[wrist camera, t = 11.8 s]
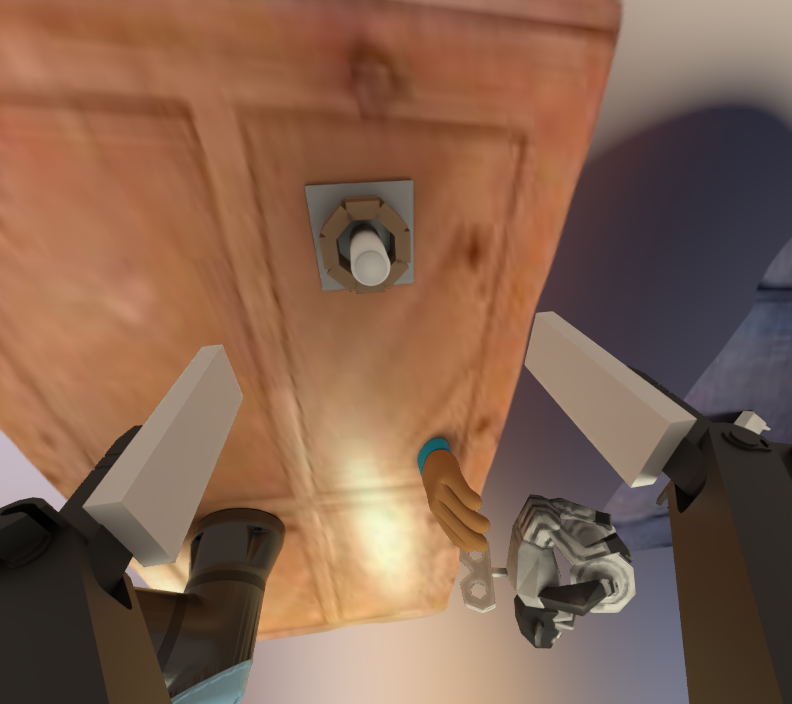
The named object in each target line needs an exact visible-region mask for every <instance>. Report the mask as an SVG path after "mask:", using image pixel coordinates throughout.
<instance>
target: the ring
mask: <svg viewBox="0 0 792 704" xmlns="http://www.w3.org/2000/svg"><path fill="white" fill-rule="evenodd" d="M345 203H346V204H345ZM345 203H344V202H343V201H342V200H340V202H339V203H338V204H337V206H336V207H335V208H334V210H333V211H332V212H331V214H330V215H329V216H328V218H327V219H326V220H325V222H324V223H323V225H322V228H321V233H320V236H319V241H320V247H321V253H322V258H323V264H324V270H326V269H328V272H327V274H328V275H329V276H330V277H332V278H333V279H334V280H335V281H337V282H338V283H339V284H341V285H342V286H343V287H345V288H346V289H347V290H349V291H350V292H352V291H353V290H354V289H356V294H361V293H372V292H384V291H385V286H386V287H387V288H388V289H390V288H391V287H392V286H393V285H394V283H395V282H396V281H397V280H398V279H399V278H400V277H401V276H402V275H403V274H404V272H405V271H406V270H407V269H408V268H409V267H408V265H407V263H411V235H410V230H409V229H408V228H407V227H408V225H407V224H406V223H405V222H404V221H403V219H402V218H401V217H400V216H399V215H398V214H397V213H396V212H395V211H394V210H393V209H392V208H391V207H390V206H389V205H388V204H387V203H386V202H385V201H384V200H383V199H382V198H379V199H378V198H377V197H376V195H372V196H355V197H345ZM367 219H377V220H378V221H379V222H380V223H382V224H383V225H384V226H385V227H386V228H387V229H388V230H389V231H390V246H391V249H390V251H389V252H388V253H387V255H388V258H389V260H390V272H389V275H388V276H387V278H386V279H385V280H384V281H383V282H382V283H380V284H378V285H374V286H368V285H364V284H362V283H360V282H358V281H357V280H356V279H355V277H354V276H353V274H352V270H351V262H350V261H349V260H348V259H347V258H345V257H344V256H343V255H342V254H340V249H339V242H338V237H339V236H340V235H341V233H342V232H343V231H344V229H345V228H346V227H347V226H348V224H349V223H350V222H351V221H352V220H367Z"/></svg>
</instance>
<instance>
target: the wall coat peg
mask: <svg viewBox="0 0 792 704" xmlns="http://www.w3.org/2000/svg"><path fill="white" fill-rule="evenodd" d="M304 187H305V193H306V199H307V204H308V210H309V216H310V221H311V227H312V233H313V239H314V244H315V250H316V256H317V261H318V267H319V273H320V278H321V284H322V290H323V291H329V290H340V289H346V288H345V287H343V286H342V285H341V284H339V283H338V282H337V281H335V280H334V279H333V278H332V277H330V276H329V275H328V274H327V272H328V269H326V270H324V264H323V258H322V253H321V247H320V241H319V236H320V233H321V228H322V225H323V223H324V222H325V220H326V219H327V218H328V216H329V215H330V214H331V212H332V211H333V210H334V208H335V207H336V206H337V204H338V203H339V202H340V200H342V201H343V202H344V203H345V197H355V196H372V195H376V197H377V198H378V199H379V198H382V199H383V200H384V201H385V202H386V203H387V204H388V205H389V206H390V207H391V208H392V209H393V210H394V211H395V212H396V213H397V214H398V215H399V216H400V217H401V218H402V219H403V221H404V222H405V223H406V224H407V225H408V227H407V228H408V229H409V230H410V235H411V263H407V265H408V267H409V268H408V269H407V270H406V271H405V272H404V274H403V275H402V276H401V277H400V278H399V279H398V280H397V281H396V282H395V283H394V285H399V284H411V283H414V201H413V180H397V181H377V182H358V183H339V184H320V185H305V186H304ZM345 204H346V203H345ZM338 242H339V249H340V254H342V255H343V256H344V257H345V258H347V259H348V260H349V261H350V262H351V270H352V274H353V276H354V277H355V279H356V280H357V281H358V282H360V283H362V284H364V285H368V286H374V285H378V284H380V283H382V282H383V281H384V280H385V279H386V278H387V276H388V275H389V272H390V260H389V258H388V255H387V253H388V252H389V251H390V249H391V246H390V231H389V230H388V229H387V228H386V227H385V226H384V225H383V224H382V223H380V222H379V221H378V220H377V219H367V220H352V221H351V222H350V223H349V224H348V226H347V227H346V228H345V229H344V231H343V232H342V233H341V235H340V236H339V237H338Z"/></svg>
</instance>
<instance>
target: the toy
mask: <svg viewBox="0 0 792 704" xmlns="http://www.w3.org/2000/svg"><path fill="white" fill-rule="evenodd" d="M561 519H568V520H567V521H566V522H565V524H564V525H562V524H561ZM554 545H555V546H556V547H557V548H558V549H559V551H560V552H561V553H562V554H563V555H564V556H565V558H566V559H567V560H568V561H569V562H570V563H571V564H572V565H574V566H573V567H572V568H571V569H570V576H571V585H566V586H561V575H560V572H559V568H558V565H557V562H556V559H555V556H554V553H553V548H554ZM619 554H621V555H622V556H623V557H624V558H625V559H627V561H628V562H629V563H631V562H633V561H634V560H633V558H632V556H631V554H630V552H629V550H628V549H627V547H626V546H625V545H624V543H623V542H622V540H621V539H620V538H619V536H618V535H617V534H616V531H615V528H614V527H613V526H612V521H611V514H608V513H603V512H599V511H596V510H593V509H590V508H587V507H584V506H581V505H579V504H576V503H573V502H570V501H568V500H565V499H562V498H556V499H550V500H548V499H546V498H544V497H543V496H538V495H530V496H529V497H528V499H527V501H526V503H525V505H524V507H523V508H522V510H521V512H520V514H519V516H518V518H517V520H516V521H515V523H514V525H513V529H512V536H511V542H510V547H509V554H508V559H507V566H506V568H491V560H490V551H489V543H488V546H487V549H486V550H485V551H484V552H482V558H480V559H478V560H476V561H475V560H473V559H472V558H471V557H469V552H466V551H464V550H461V549H460V555H459V560H460V561H461V562H462V563H463V564H464V565H465V566H466V567H467V568H468V569H469V570H470V571H471V572H470V573H469V574H468V575H467V576H466V577H465V578H464V579H463V580H462V581H461V582H460V585H461V590H462V594H463V600H464V604H465V607H468V608H471V609H473V610H476V611H479V612H481V613H484V612H487V611H488V610H491V609H493V608H495V607H496V602H495V594H494V586H493V577H508V579H509V581H510V582H511V584H512V586H513V587H514V589H515V591H516V592H517V595H516V597H515V598H514V604H515V616H516V619H517V622H518V625H519V628H520V631H521V633H522V634H523V636H525V638H526V639H527V640H529V642H530V643H531V644H532V645H533V646H534V647H535V648H551V647H552V645H553V643H554V641H555V639H556V638H559V637H561V635H562V630H561V628H565V629H570V630H573V628H574V622H575V617H576V615H580V616H584V615H585V614H586V613H587V612H589V611H591V612H592V613H606V612H607V613H608V612H609V613H611V612H619V611H620V610H621V609H622V608H623V607H624V606H625V605H626V604H627V603H628V601H629V600H630V599H631V598H632V597H633V596H634V595H635V583H634V572H633V568H632V567H631V566H630V565H628V563H626V562H625V561H624V560H623V559H622V558H621V557H619V556H618V555H619ZM477 583H478V584H480V585H482V586H484V587H485V588H486V593H487V594H486V595H484V596H483V597H482V598H481V599H478V598H477V597H475V596H473V595H472V593H471V588H472V587H473V586H474V585H475V584H477Z"/></svg>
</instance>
